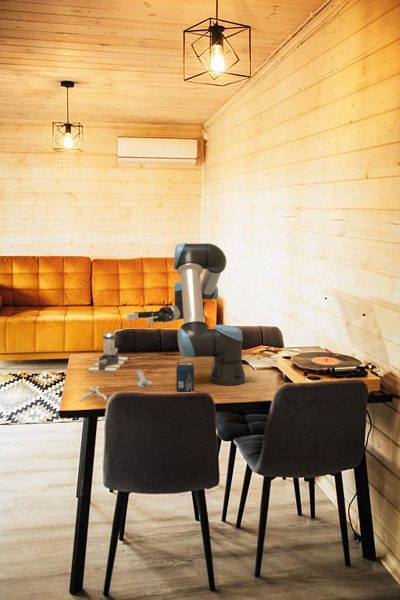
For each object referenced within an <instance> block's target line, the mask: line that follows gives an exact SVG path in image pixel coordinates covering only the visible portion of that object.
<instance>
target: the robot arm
mask: <svg viewBox="0 0 400 600" xmlns="http://www.w3.org/2000/svg"><path fill="white" fill-rule="evenodd" d="M174 249H175V250H174V258H173V269H174V270H175V271H176V274H177V275H178V276H180V281H179V280H178V281H175V283H174V305H168V306H163V307H161V308H159V309H158V310H156V311H153V310H152V311H138V312H136V311H135V312H133V313H128V314H127V315H126V317H127V319H126V320H127V321H134V320H138V319H146V323H147V324H148V325H149V324H154V323H161V322H162V323H169V322H172V323H174V321H180V320H183V323H182V324H181V325H180V329H178V330H177V333H176V334H177V344H178V349H179V352H180V355H181V356H182V357H184V358H192V359H193V358H213V365H212V367H211V370H210V373H209V381H210V382H211V383H212V384H215V385H219V386H238V385H241V384H244V383H245V382H246V373H245V369H244V367H243V366H244V365H243V362H242V361H243V357H242V356H243V341H244V340H243V331H242V329H240V328H238V327H236V326H234V325H233V326H232V325H227V324H215V325H214V327H213V328H209V324H208V323H207V322H206V321H205V318H204V307H203V306H204V305H203V301H207V300H208V301H211V300H212V301H213V300H217V299H218V296H219V289H218V286H217V285H218V282H219V280H220V277H221V273H222V272H223V271H225V269H226V266H227V257H226V255H225V253H224V251H223V250H222V249H221V247H219V246H217V245H215V244H213V243H187V242H185V243H177V244H176V246H175V248H174ZM203 272H204V273H203ZM202 274H203V276H202V280H201V275H202Z"/></svg>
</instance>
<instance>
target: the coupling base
mask: <svg viewBox="0 0 400 600" xmlns="http://www.w3.org/2000/svg"><path fill="white" fill-rule="evenodd" d="M118 351H119V349H118V347H114V352H115V358H111V359H104V354H103V355H100V356H99V359H98V360H97V362H95V363H94V364H92V365H91V366H90V367H89V368H88V369H87V371H86V372H87V373H91V372H93V373H94V374H112V375H113V374H115V373H117V371H119V369H120V368H121V367H122V366H123V365H125V363H126V362H128V360H129V359H130V358H129V356H119V352H118ZM93 373H92V374H93Z"/></svg>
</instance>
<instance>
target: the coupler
mask: <svg viewBox="0 0 400 600" xmlns="http://www.w3.org/2000/svg"><path fill="white" fill-rule="evenodd" d="M115 337H116V336H115V332H110V331H108V332H103V335H102V339H103V355H104V359H111V358H115V352H114V349H115Z"/></svg>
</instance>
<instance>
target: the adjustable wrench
mask: <svg viewBox="0 0 400 600" xmlns="http://www.w3.org/2000/svg"><path fill="white" fill-rule="evenodd" d="M135 374H136V376H137V378H138V380H139V381H138V382H137V383H136V388H137V389H142V390H143V389H145V387H148V388H152V387H153V381H152V380H151V381H150V380H147V379H146V378H145V377H146V376H145V374H144V372H143V370H142V369H135Z"/></svg>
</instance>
